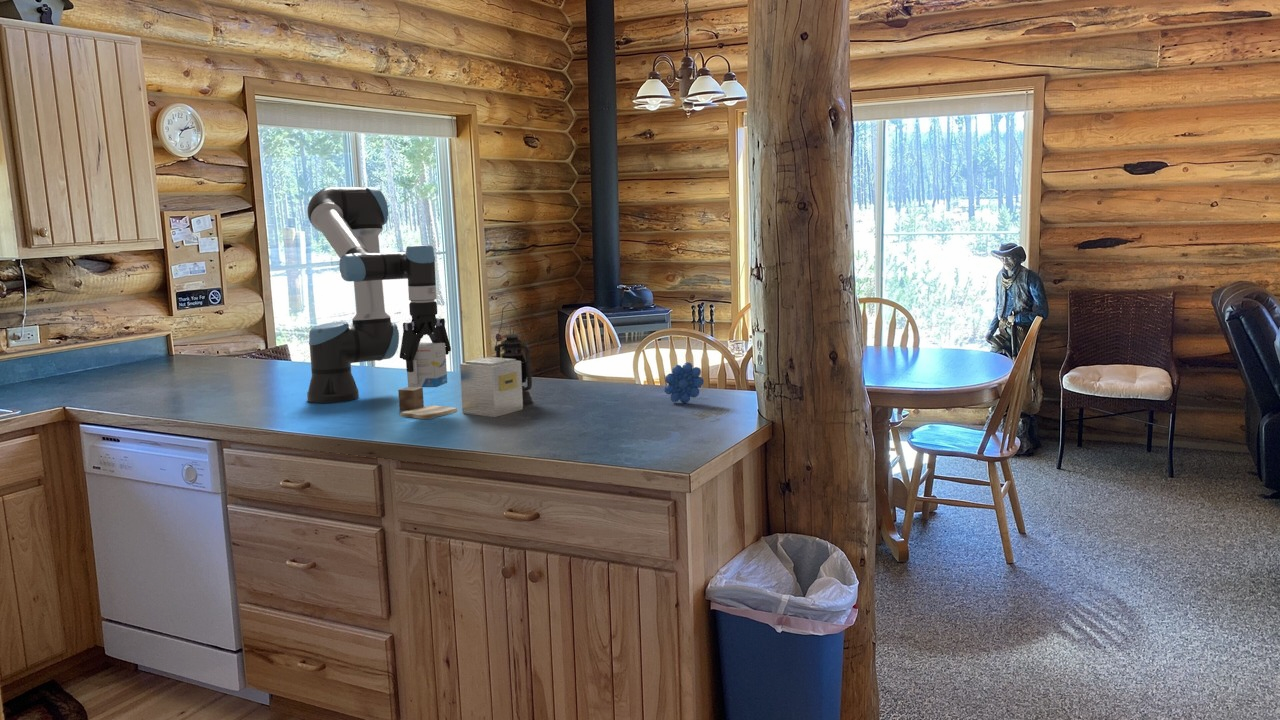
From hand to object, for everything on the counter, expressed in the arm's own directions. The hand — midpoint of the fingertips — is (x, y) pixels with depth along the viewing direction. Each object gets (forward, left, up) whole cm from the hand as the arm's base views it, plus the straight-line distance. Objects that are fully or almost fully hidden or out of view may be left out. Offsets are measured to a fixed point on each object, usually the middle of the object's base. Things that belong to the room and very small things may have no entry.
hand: (427, 380), depth 267 cm
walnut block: (-10, +3, -10) cm, 14 cm away
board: (0, 0, -10) cm, 10 cm away
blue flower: (+56, +46, -10) cm, 74 cm away
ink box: (0, 0, -2) cm, 2 cm away
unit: (+14, +11, -10) cm, 20 cm away
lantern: (+11, +24, -10) cm, 28 cm away
